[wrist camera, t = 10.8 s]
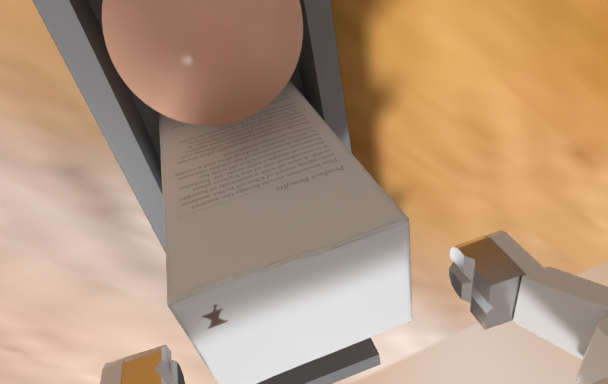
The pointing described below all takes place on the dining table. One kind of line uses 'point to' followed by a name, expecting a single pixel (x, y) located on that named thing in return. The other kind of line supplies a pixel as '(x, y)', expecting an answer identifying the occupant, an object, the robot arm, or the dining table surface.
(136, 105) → the pusher lane
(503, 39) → the dining table surface
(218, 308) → the skincare box
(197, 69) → the brown egg
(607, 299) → the robot arm
